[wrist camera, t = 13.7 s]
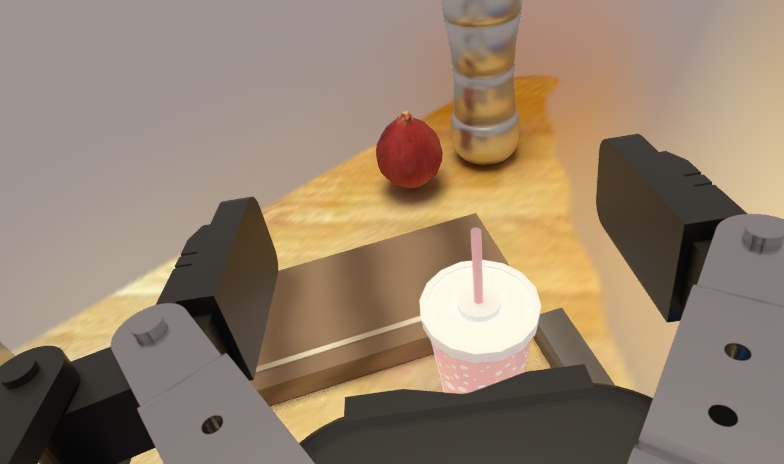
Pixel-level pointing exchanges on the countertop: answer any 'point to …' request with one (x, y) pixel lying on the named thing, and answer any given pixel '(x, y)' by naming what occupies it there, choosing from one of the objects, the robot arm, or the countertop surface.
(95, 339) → the countertop surface
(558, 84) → the countertop surface
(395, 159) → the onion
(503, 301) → the beverage cup
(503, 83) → the plastic bottle
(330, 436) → the robot arm
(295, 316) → the walnut board
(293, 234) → the countertop surface
